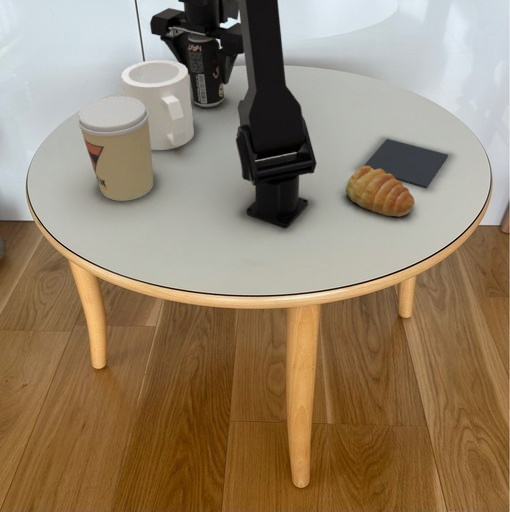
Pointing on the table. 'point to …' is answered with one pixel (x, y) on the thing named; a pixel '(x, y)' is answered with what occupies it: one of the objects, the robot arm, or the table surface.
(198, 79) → the beverage can
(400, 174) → the coaster
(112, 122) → the coffee cup
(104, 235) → the table surface
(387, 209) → the pastry
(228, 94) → the table surface
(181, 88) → the mug
